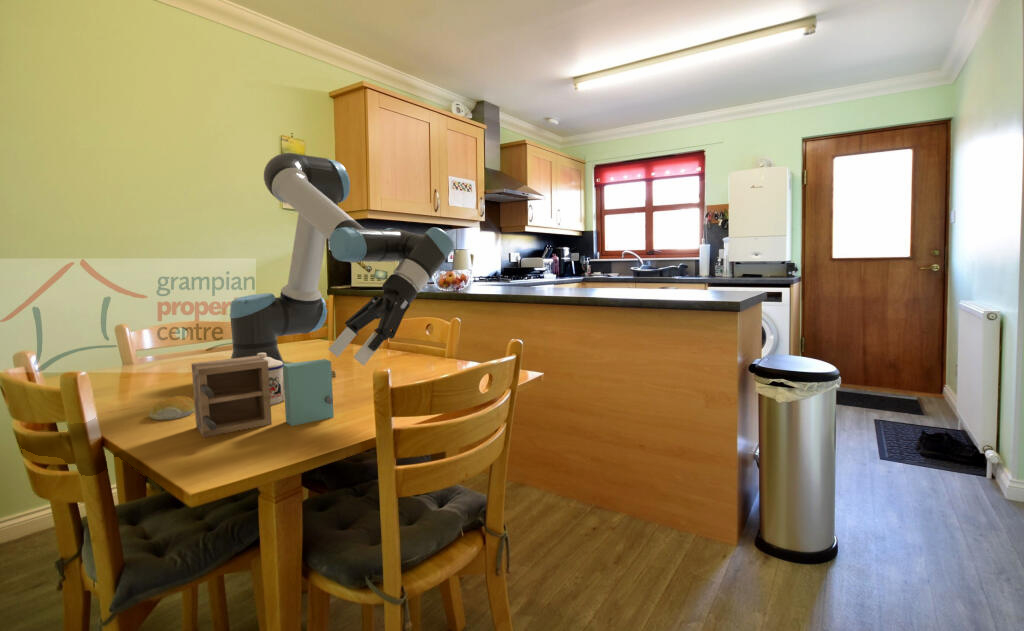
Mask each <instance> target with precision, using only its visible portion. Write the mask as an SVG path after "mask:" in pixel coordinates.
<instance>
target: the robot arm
mask: <svg viewBox="0 0 1024 631" xmlns="http://www.w3.org/2000/svg"><path fill="white" fill-rule="evenodd" d="M263 181H264V185H265V186H266V188H267V190H268V192H269V193H270V194H271V195H272V196H273V197H274V198H275V199H276V200H278V201H279V202H281V203H284V204H288V205H289V206H290V207H291V208H292V209H294V210H295V211H296V212H297V213H298V216H297V222H296V228H295V234H294V241H293V246H292V253H291V254H292V255H291V262H290V266H289V267H290V268H289V272H288V278H287V284H285V285H284V286H282V287H281V289H280V295H279V297H276V296H275V294H274V293H272V292H271V293H269V292H268V293H258V294H250V295H245V296H240V297H237V298H235V299H233V300H232V301H231V302H230V307H229V308H230V309H229V312H230V313H229V317H230V328H231V340H232V342H231V343H232V353H231V356H230V359H233V358H242V357H250V356H257V354H258V353H266V357H271V358H273V359H275V360H279V361H282V362H283V364H285V362H284V360H283V356H282V355H281V352H280V351H279V347H278V337H284V336H292V335H301V334H309V333H312V332H316V331H319V329H321V328H322V327H323V325H324V324H325V322H326V319H327V314H328V308H326V307H327V303H326V300H325V299H324V297H322V294H323V293H321V291H320V290H319V282H320V277H321V271H322V267H323V266H322V265H323V260H324V253H325V248H326V242H327V240H328V245H329V250H330V251H331V255H332V256H333V258H334V259H335V260H337V261H340V262H349V263H359V262H363V263H365V262H400V263H399V264H398V265H397V267H396V268H394V270H393V273H392V274H390V275H389V277H388V278H387V279H386V280H385V282H384V283H382V287H381V288H382V290H383V291H384V293H383V295H381V296H380V297H379V296H378V295H377V294H375V295H374V296H372V298H371V299H370V300H369V301H368V302H366V304H364V305H363V306H362V307H361V308H360V309H359V310H358V311H356V312H355V313H354V314H353V315H352V316H351V317H349V318H348V319H347V320H346V321H345V322H344V325H346V327H345V328H344V330H343V331H342V332H341V333H340V334H339V335H338V337H337V338H336V339H335V340H334V342H333V343H331V345H330V346H329V347H328V349H327V350H328V351H329V352H331V353H332V354H333V355H335V356H336V357H337V358H339V356H340V355H342V353H343V352H344V351H345V349H346V348H347V347H348V346H349V344H351V342H352V341H353V340H354V339H355V337H356V336H358V334H359V331H360V330H361V329H362V330H363V328H364V327H366V326H367V325H369V324H370V323H371V322H373V321H374V320H379V322H378V325H377V327H376V328H375V329H374V330H373V331H374V332H372V333H371V335H370V336H369V337H368V338H367V339H366V341H365V342H364V343H363V345H362V346H361V347H360V348H359V349H358V351H357V352H356V353H355V354H354V355H353V358H354V359H355V360H356V361H357V362H358V363H359V364H361V365H362V366H365V365H366V364H367V363H368V361H370V359H371V358H372V356H373V355H374V354H375V353H376V351H378V349H379V348H380V346H381V345H382V344H383V343H384V341H387V340H388V339H390V340H392V339H394V337H395V336H396V334H397V332H398V329H399V327H400V325H401V323H402V320H403V318H404V316H405V314H406V312H407V310H408V309H409V308H410V307H411V306H410V305H411V304H412V302H413V301H414V300H415V298H416V297H417V296H418V293H420V292H421V291H422V289H425V288H426V284H428V282H429V281H430V279H432V277H433V276H434V274H436V272H437V271H438V270H439V269H440V267H441V266H442V264H444V262H445V261H446V260H447V259H448V257H449V256H450V254H452V252H453V250H454V247H455V246H454V245H455V244H454V241H453V239H452V238H451V236H450V235H449V234H448V232H446V231H445V230H442V229H441V228H439V227H434V226H433V227H431V228H429V229H428V230H426V232H425V233H424V234H417V233H415V232H414V233H413V232H411V231H410V232H409V231H407V230H403V229H400V228H393V227H388V228H385V229H377V228H375V229H374V228H366V227H363V226H362V225H361V224H360V223H359V222H357V220H355V219H354V218H353V217H351V216H350V215H349V214H348V213H347V212H345V211H344V210H343V208H341V207H339V203H343V202H345V201H346V200H347V199H348V198H349V194H350V191H351V184H350V183H351V181H350V176H349V174H348V171H347V169H346V168H345V166H344V164H342V163H340V162H339V161H337V160H334V159H330V158H326V157H319V156H314V155H306V154H298V153H293V152H283V153H280V154H277V155H275V156H274V157H272V158H271V159H269V161H268V162H267V164H266V165H265V167H264V171H263Z"/></svg>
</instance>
